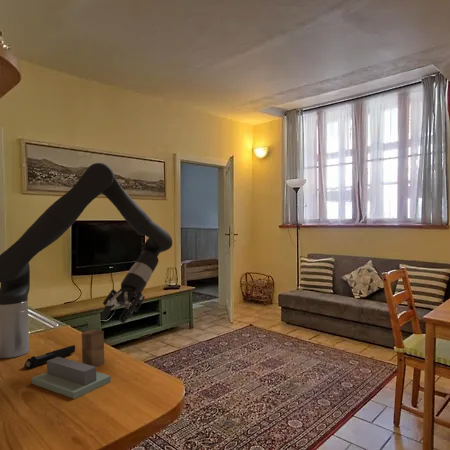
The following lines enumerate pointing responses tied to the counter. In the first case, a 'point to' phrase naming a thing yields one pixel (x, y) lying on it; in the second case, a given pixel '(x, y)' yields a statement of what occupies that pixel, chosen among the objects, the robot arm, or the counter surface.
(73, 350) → the electric trimmer
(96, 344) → the brown wooden block
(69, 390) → the ridge board
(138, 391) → the counter surface
